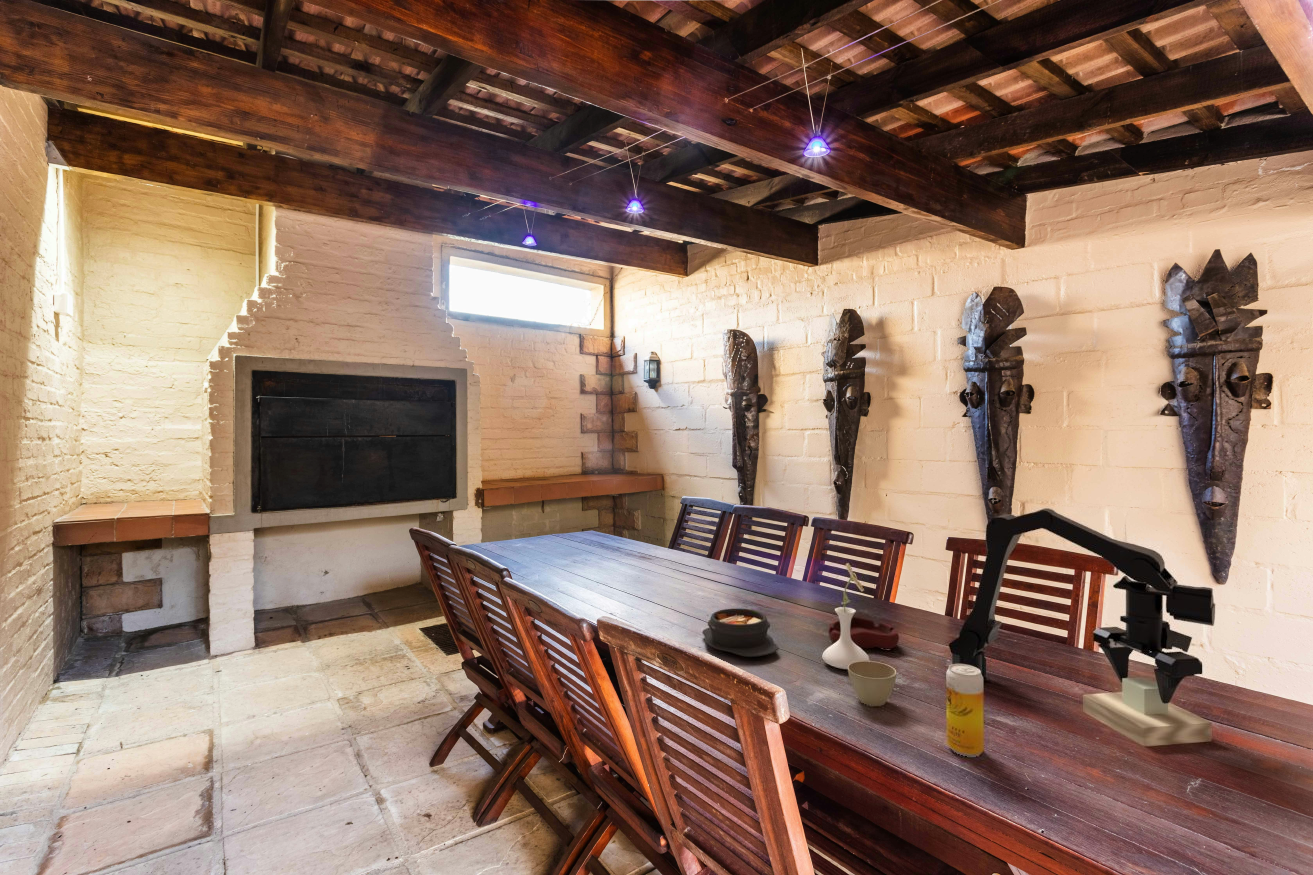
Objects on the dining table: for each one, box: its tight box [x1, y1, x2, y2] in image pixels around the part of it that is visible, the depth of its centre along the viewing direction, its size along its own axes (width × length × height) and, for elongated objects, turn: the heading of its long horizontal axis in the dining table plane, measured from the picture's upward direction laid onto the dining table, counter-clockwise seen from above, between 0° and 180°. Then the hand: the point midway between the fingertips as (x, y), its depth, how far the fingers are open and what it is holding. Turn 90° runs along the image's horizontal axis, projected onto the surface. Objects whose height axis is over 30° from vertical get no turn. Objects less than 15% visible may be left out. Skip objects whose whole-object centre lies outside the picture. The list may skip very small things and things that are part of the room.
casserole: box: [702, 608, 780, 658], centre depth 167 cm, size 25×19×8 cm
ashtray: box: [828, 616, 900, 650], centre depth 169 cm, size 18×16×5 cm
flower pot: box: [847, 660, 897, 707], centre depth 133 cm, size 10×10×7 cm
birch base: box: [1082, 691, 1213, 747], centre depth 121 cm, size 14×14×4 cm
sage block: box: [1121, 676, 1168, 715], centre depth 121 cm, size 5×5×5 cm
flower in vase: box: [821, 562, 871, 670], centre depth 154 cm, size 13×11×25 cm
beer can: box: [945, 664, 985, 758], centre depth 113 cm, size 6×6×15 cm
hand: (1143, 692), depth 121 cm, fingers open, 9 cm apart
